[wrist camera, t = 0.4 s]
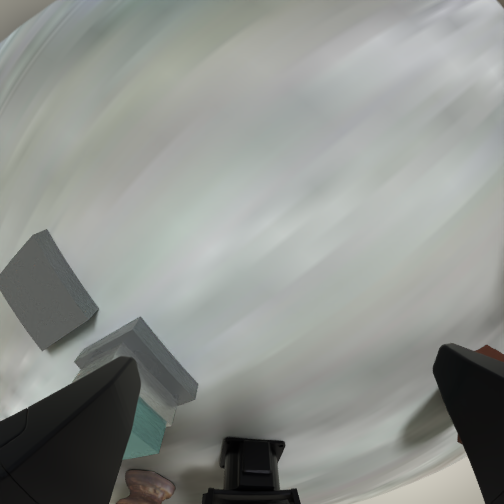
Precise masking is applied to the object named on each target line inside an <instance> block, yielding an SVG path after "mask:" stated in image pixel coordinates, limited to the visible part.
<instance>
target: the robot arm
mask: <svg viewBox="0 0 504 504" xmlns="http://www.w3.org/2000/svg"><path fill="white" fill-rule="evenodd" d="M433 374H434V377H435V379H436V382H437V384H438V387H439V390H440V392H441V395H442V398H443V400H444V403H445V406H446V408H447V411H448V413H449V415H450V417H451V420H452V422H453V424H454V426H455V428H456V430H457V433H458V435H459V437H460V439H461V442H462V444H463V446H464V449H465V451H466V453H467V456H468V458H469V461H470V463H471V466H472V468H473V471H474V473H475V476H476V479H477V481H478V484H479V487H480V490H481V493H482V495H483V498H484V501H485V504H504V362H502V361H499V360H496V359H494V358H491V357H488V356H486V355H483V354H480V353H477V352H475V351H472V350H470V349H467V348H464V347H462V346H459V345H456V344H454V343H449V344H444V345H442V346H441V347H440V348H439V351H438V354H437V357H436V360H435V362H434V365H433ZM140 389H141V379H140V375H139V371H138V367H137V363H136V360H135V359H134V358H133V357H128V356H119V357H118V358H116V359H114V360H112V361H111V362H109V363H107V364H105V365H104V366H102V367H100V368H98V369H96V370H95V371H93V372H91V373H89V374H88V375H86V376H84V377H82V378H80V379H79V380H77V381H75V382H73V383H72V384H70V385H68V386H66V387H64V388H62V389H61V390H59V391H57V392H55V393H53V394H52V395H50V396H48V397H46V398H44V399H42V400H41V401H39V402H37V403H35V404H33V405H31V406H29V407H28V409H27V408H26V409H24V410H22V411H20V412H18V413H16V414H14V415H12V416H10V417H8V418H6V419H4V420H2V421H0V504H109V502H110V499H111V495H112V492H113V489H114V485H115V482H116V479H117V475H118V472H119V469H120V466H121V463H122V459H123V456H124V453H125V450H126V447H127V444H128V441H129V438H130V435H131V431H132V427H133V422H134V417H135V412H136V408H137V403H138V398H139V394H140ZM284 448H285V442H284V441H272V440H255V439H242V438H232V437H227V438H225V439H224V444H223V449H222V455H221V460H220V467H221V468H224V469H225V471H224V489H223V490H220V489H214V488H209V490H208V493H206V494H203V498H202V504H301V503H300V499H299V495H298V492H297V488H295V489H291V490H280V486H279V475H278V461H279V459H280V457H281V455H282V453H283V450H284Z"/></svg>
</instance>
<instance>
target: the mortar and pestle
mask: <svg viewBox="0 0 504 504" xmlns="http://www.w3.org/2000/svg"><path fill="white" fill-rule="evenodd" d="M125 480H126V484H127V486H128V488H129V490H130V495H129V496H128V497H127V498H123V499H120V500H119V501H118V502H117V503H116V504H161V502H162V501H164V500H165V499H169V498H170V497H171V496H172V495H173V493H174V491H175V486H174V485H173V484H172V483H171V482H170V481H168V480H167V479H165V478H163V477H161V476H160V475H158V474H156V473H155V472H153V471H141V470H129V471H127V472H126V473H125Z"/></svg>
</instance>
